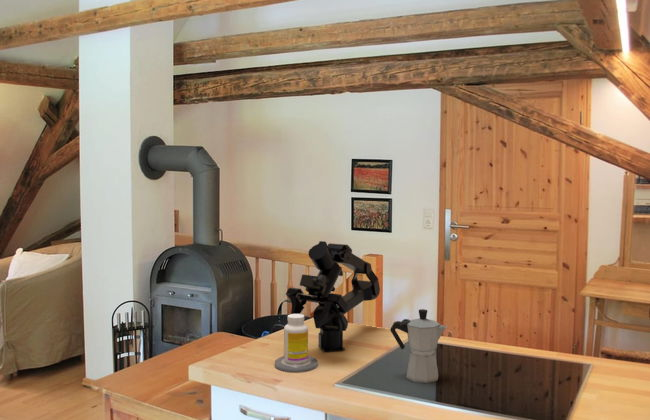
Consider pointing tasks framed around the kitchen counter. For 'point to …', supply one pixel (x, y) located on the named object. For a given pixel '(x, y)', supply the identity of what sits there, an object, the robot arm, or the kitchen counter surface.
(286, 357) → the supplement bottle
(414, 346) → the coffee maker
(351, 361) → the kitchen counter surface
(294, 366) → the gray plate
